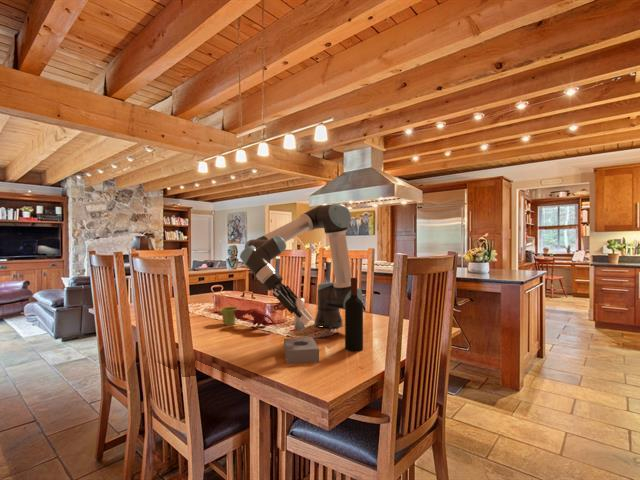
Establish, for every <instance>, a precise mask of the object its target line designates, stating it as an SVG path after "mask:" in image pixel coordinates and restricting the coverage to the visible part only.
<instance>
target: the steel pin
mask: <svg viewBox="0 0 640 480" xmlns="http://www.w3.org/2000/svg"><path fill="white" fill-rule="evenodd" d="M305 301H306V300H305V297H304V298H303V297H298V298H295V305H296V307H297V308H299V309H300V310H301V311H302V312H303V313H304V314H305V309H306V308H305V307H306V306H305V305H306V304H305ZM293 314H294V313H293ZM293 319H294V321H293V322H294V327H293V329H294V330H295V331H304V330H305V325H306V324H305V325H304V324H303V323H302V322H301V321H300V319H299V318H298V317H297V316H296V315H295V314H294V318H293Z"/></svg>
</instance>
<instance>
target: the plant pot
mask: <svg viewBox="0 0 640 480" xmlns="http://www.w3.org/2000/svg"><path fill="white" fill-rule="evenodd" d="M219 310H220V311H221V315H222V323H223V326H231V325H232V326H233V325H235V324H236V320H237V318H236V317H235V314H234V312H235V311H236V310H239V307H237V306H225V307H221V308H220V309H219Z"/></svg>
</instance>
